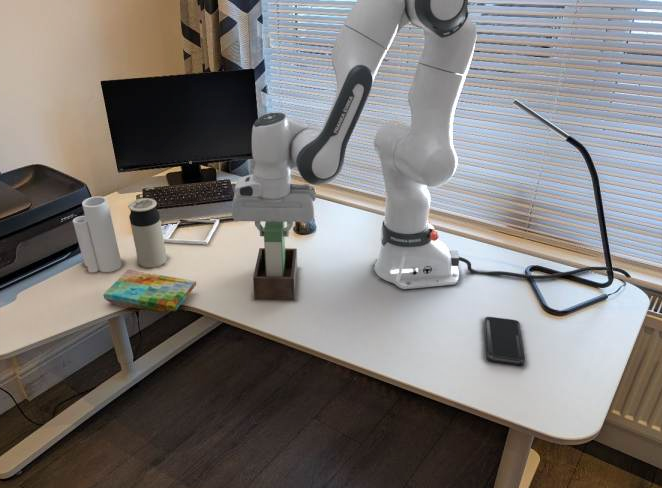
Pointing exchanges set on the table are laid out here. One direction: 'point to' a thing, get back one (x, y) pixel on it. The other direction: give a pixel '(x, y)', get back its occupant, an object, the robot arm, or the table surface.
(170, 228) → the photo frame
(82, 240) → the vase
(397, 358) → the table surface
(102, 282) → the table surface
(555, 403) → the table surface
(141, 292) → the puzzle game
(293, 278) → the box
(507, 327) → the phone
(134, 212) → the travel mug
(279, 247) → the tea packet
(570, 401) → the table surface
